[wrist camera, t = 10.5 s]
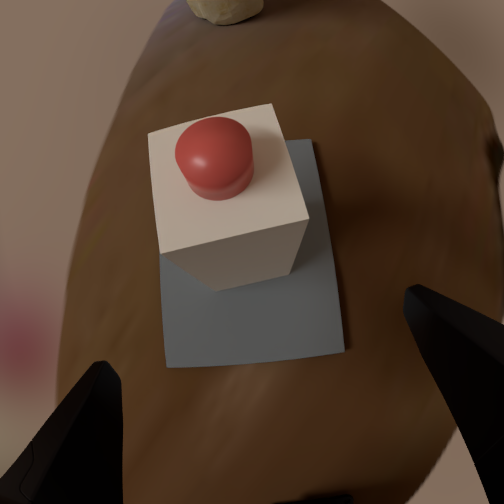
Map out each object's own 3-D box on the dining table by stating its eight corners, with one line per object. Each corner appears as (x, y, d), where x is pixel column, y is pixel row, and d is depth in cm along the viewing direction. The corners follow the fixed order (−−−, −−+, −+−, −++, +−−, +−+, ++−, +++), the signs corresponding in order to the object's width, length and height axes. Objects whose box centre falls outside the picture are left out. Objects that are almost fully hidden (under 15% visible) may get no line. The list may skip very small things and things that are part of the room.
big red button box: (288, 274, 21) (315, 200, 8) (215, 291, 21) (143, 241, 8) (271, 206, 22) (271, 77, 10) (202, 222, 22) (134, 111, 10)
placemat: (342, 351, 20) (344, 351, 19) (169, 366, 20) (166, 367, 20) (310, 143, 24) (310, 139, 23) (162, 160, 24) (160, 157, 23)
